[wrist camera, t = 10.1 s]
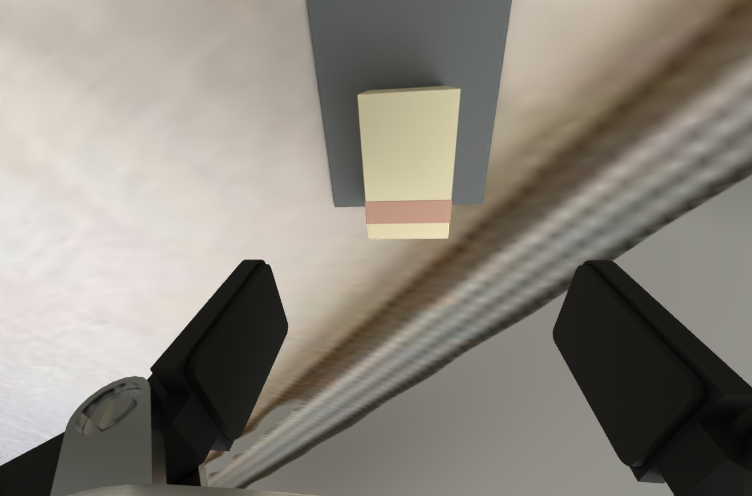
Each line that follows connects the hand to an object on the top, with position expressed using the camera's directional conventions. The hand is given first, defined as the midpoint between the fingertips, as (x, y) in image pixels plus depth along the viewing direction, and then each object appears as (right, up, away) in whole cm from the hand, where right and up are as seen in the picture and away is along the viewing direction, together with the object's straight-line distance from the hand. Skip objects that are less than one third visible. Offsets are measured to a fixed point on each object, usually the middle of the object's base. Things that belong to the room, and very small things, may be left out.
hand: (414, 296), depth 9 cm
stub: (+1, +9, +14) cm, 17 cm away
